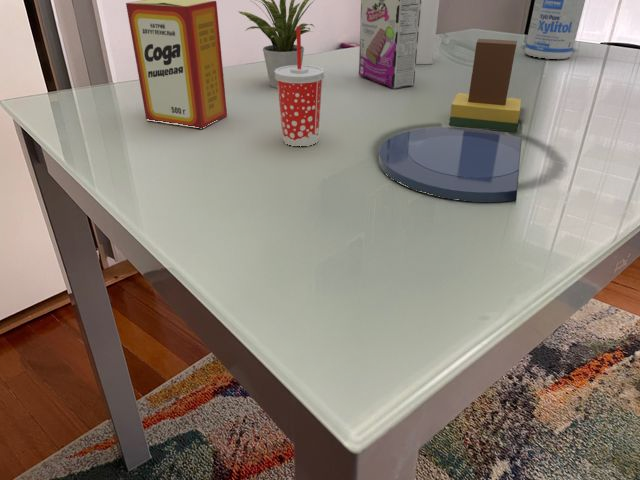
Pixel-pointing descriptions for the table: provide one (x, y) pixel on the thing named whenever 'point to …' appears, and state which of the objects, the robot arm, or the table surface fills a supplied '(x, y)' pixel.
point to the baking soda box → (179, 60)
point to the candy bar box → (389, 41)
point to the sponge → (489, 90)
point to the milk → (427, 31)
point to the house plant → (280, 35)
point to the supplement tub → (553, 28)
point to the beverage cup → (299, 100)
